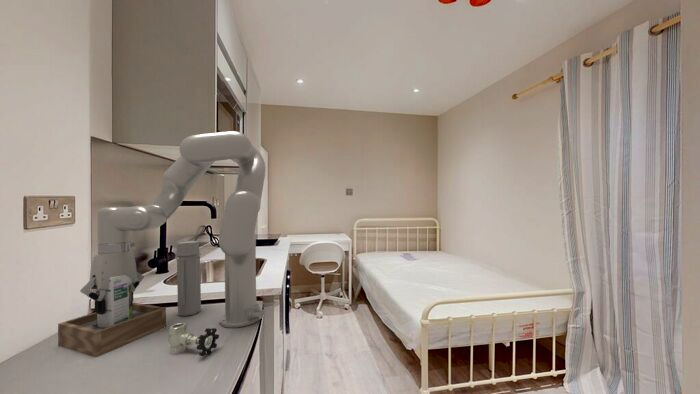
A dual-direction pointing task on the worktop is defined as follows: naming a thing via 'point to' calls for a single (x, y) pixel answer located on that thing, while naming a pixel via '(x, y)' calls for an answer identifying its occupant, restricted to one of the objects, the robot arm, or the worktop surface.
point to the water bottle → (188, 278)
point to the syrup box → (116, 302)
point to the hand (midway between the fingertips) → (114, 308)
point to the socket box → (110, 330)
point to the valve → (191, 339)
